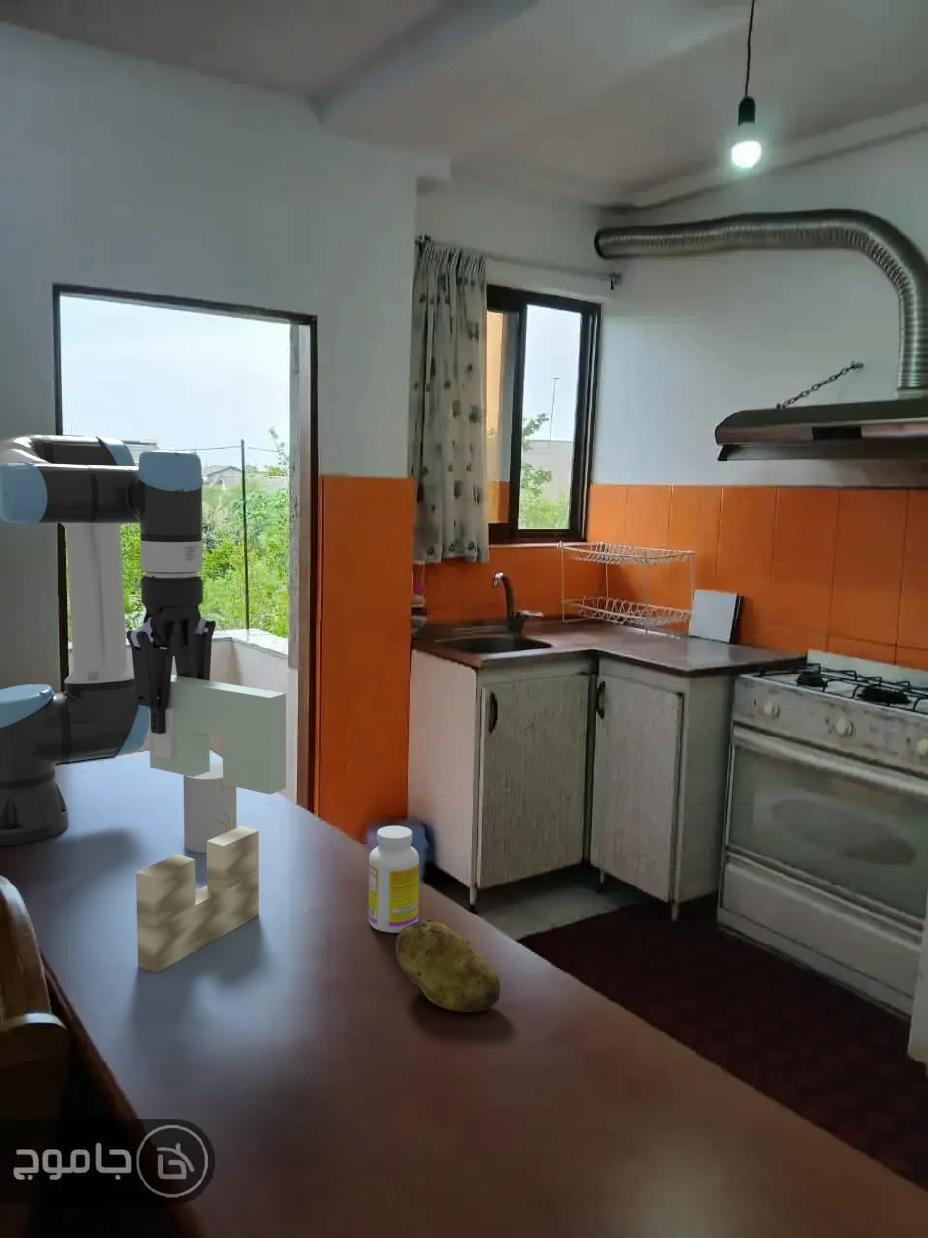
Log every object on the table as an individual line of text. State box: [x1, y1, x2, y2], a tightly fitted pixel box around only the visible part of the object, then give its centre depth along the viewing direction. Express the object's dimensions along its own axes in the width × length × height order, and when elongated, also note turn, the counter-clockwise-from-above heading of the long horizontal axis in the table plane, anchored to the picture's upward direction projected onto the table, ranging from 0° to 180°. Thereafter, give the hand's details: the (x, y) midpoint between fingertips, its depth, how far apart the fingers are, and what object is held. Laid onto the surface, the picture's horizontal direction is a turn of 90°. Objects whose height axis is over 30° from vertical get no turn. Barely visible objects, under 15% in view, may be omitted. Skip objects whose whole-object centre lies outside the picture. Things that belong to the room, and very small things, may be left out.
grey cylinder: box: [182, 763, 238, 854], centre depth 150 cm, size 8×8×12 cm
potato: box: [395, 918, 501, 1013], centre depth 107 cm, size 8×13×8 cm, turn 38°
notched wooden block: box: [135, 825, 260, 974], centre depth 119 cm, size 18×3×12 cm, turn 151°
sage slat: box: [149, 674, 287, 796], centre depth 118 cm, size 20×3×12 cm, turn 62°
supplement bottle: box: [368, 825, 420, 934], centre depth 125 cm, size 7×7×13 cm
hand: (174, 753), depth 122 cm, fingers closed on sage slat, 3 cm apart
